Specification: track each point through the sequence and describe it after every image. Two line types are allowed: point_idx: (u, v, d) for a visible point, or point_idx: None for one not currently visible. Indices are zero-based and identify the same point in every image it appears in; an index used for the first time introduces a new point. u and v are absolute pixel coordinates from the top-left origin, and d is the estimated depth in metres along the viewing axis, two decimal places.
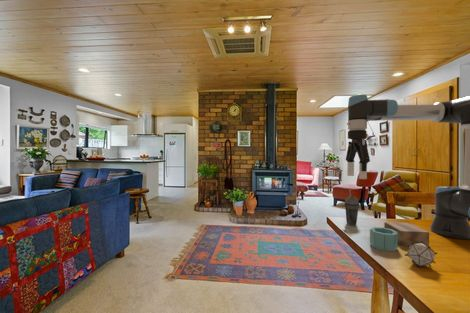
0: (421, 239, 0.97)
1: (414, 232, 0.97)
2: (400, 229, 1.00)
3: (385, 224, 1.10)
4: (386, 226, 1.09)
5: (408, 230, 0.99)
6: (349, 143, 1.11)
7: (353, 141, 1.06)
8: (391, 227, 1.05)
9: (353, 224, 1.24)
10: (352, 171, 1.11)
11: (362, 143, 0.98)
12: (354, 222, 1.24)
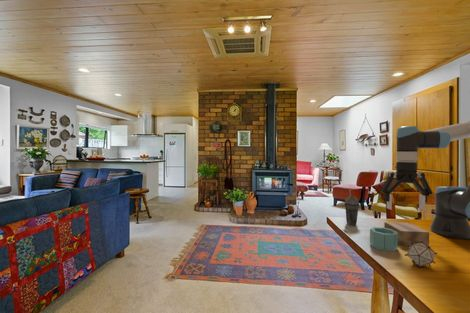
0: (421, 239, 0.97)
1: (414, 232, 0.97)
2: (400, 229, 1.00)
3: (385, 224, 1.10)
4: (386, 226, 1.09)
5: (408, 230, 0.99)
6: None
7: None
8: (391, 227, 1.05)
9: (353, 224, 1.24)
10: (422, 205, 1.02)
11: (389, 175, 1.04)
12: (354, 222, 1.24)
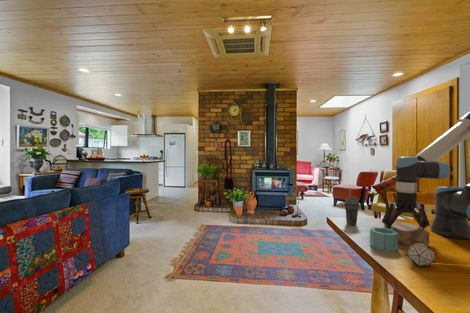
0: (421, 239, 0.97)
1: (414, 232, 0.97)
2: (400, 229, 1.00)
3: (385, 224, 1.10)
4: (386, 226, 1.09)
5: (408, 230, 0.99)
6: None
7: None
8: None
9: (353, 224, 1.24)
10: None
11: (388, 205, 1.05)
12: (354, 222, 1.24)
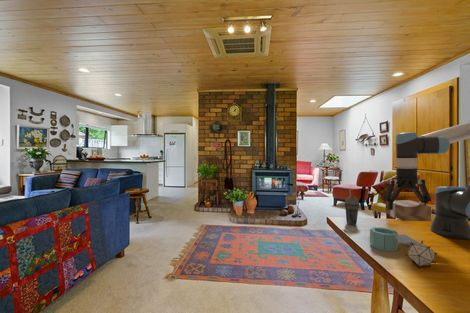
0: (423, 214, 0.97)
1: (416, 207, 0.97)
2: (402, 205, 0.99)
3: (386, 202, 1.09)
4: (387, 204, 1.09)
5: (410, 206, 0.98)
6: None
7: None
8: None
9: (353, 224, 1.24)
10: None
11: (389, 182, 1.04)
12: (354, 222, 1.24)
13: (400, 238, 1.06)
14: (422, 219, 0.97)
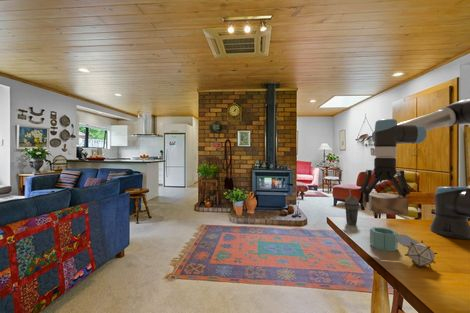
0: (400, 207, 0.89)
1: (392, 199, 0.89)
2: (377, 197, 0.92)
3: None
4: None
5: (386, 197, 0.91)
6: None
7: None
8: None
9: (353, 224, 1.24)
10: None
11: (366, 173, 0.97)
12: (354, 222, 1.24)
13: (400, 238, 1.06)
14: (398, 212, 0.89)
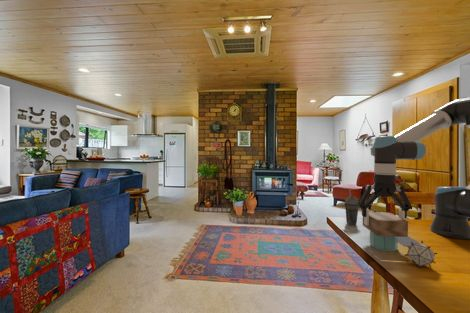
0: (399, 229, 0.89)
1: (392, 221, 0.90)
2: (377, 218, 0.92)
3: None
4: None
5: (386, 219, 0.91)
6: None
7: None
8: (369, 217, 0.97)
9: (353, 224, 1.24)
10: None
11: (366, 188, 0.97)
12: (354, 222, 1.24)
13: (400, 238, 1.06)
14: (398, 234, 0.89)
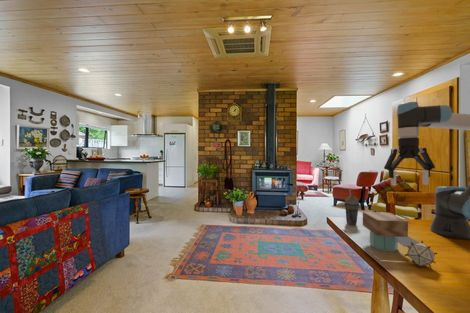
0: (399, 229, 0.89)
1: (392, 221, 0.90)
2: (377, 218, 0.92)
3: (363, 214, 1.02)
4: (364, 216, 1.02)
5: (386, 219, 0.91)
6: None
7: None
8: (369, 217, 0.97)
9: (353, 224, 1.24)
10: (425, 180, 1.03)
11: (391, 152, 1.05)
12: (354, 222, 1.24)
13: (400, 238, 1.06)
14: (398, 234, 0.89)
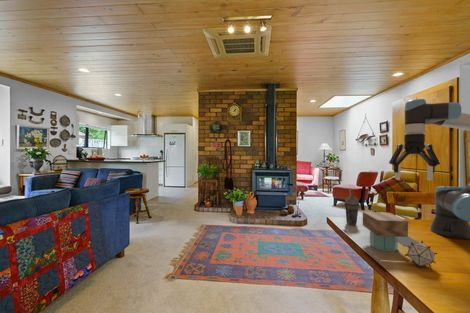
0: (399, 229, 0.89)
1: (392, 221, 0.90)
2: (377, 218, 0.92)
3: (363, 214, 1.02)
4: (364, 216, 1.02)
5: (386, 219, 0.91)
6: None
7: None
8: (369, 217, 0.97)
9: (353, 224, 1.24)
10: (429, 175, 1.06)
11: (397, 147, 1.08)
12: (354, 222, 1.24)
13: (400, 238, 1.06)
14: (398, 234, 0.89)
